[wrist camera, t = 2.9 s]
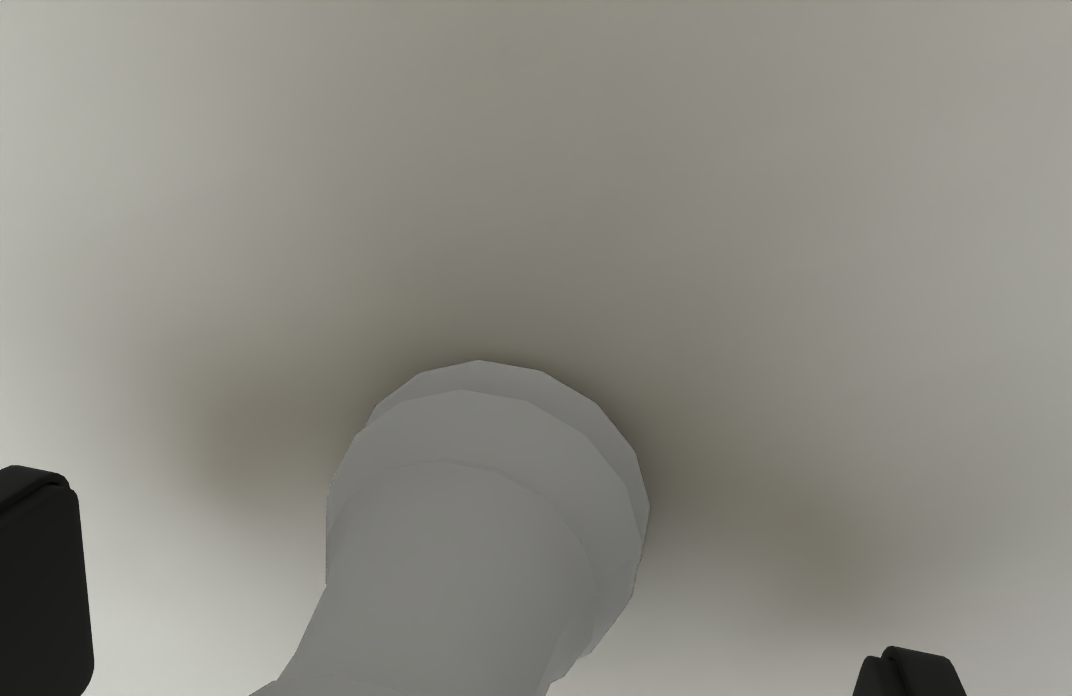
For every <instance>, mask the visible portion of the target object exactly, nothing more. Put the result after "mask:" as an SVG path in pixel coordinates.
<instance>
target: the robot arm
mask: <svg viewBox="0 0 1072 696" xmlns="http://www.w3.org/2000/svg"><path fill="white" fill-rule="evenodd" d="M93 670H94V654H93V644H92V633H91V623H90V613H89V603H88V593H87V583H86V572H85V562H84V552H83V542H82V532H81V521H80V511H79V501H78V497H77V494H76V493H75V492H74V490H72V489H70V486H69V482H68V481H67V480H66V478H65V477H64V476H62V475H60V474H58V473H54V472H49V471H44V470H39V469H34V468H29V467H25V466H20V465H11V466H9V467H6V468H3V469H1V470H0V696H81V695H82V693H83V692H84V691H85V689H86V688H87V686H88V684H89V682H90V680H91V677H92V674H93ZM852 696H967V695H966V693H965V691H964V689H963V686H962V684H961V682H960V680H959V677H958V675H957V673H956V671H955V669H954V666H953V665H952V663H951V662H950V660H949V659H947V658H946V657H943V656H939V655H934V654H929V653H924V652H919V651H914V650H910V649H905V648H900V647H895V646H889V647H887V648H886V649H885V650H884V652H883V654H882V656H881V658H879V657H874V656H867V657H866V658H865V660H864V662H863V664H862V667H861V670H860V673H859V676H858V679H857V683H856V686H855V689H854V692H853V695H852Z"/></svg>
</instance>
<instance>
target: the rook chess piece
mask: <svg viewBox="0 0 1072 696" xmlns="http://www.w3.org/2000/svg"><path fill="white" fill-rule="evenodd" d="M649 513H650V504H649V500H648V496H647V493H646V489H645V485H644V482H643V478H642V474H641V471H640V467H639V463H638V460H637V456H636V452H635V451H634V450H633V448H632V447H631V446H630V445H629V443H628V442H627V441H626V440H625V438H624V437H623V436H622V435H621V433H620V432H619V431H618V429H617V428H616V427H615V426H614V424H613V423H612V422H611V421H610V419H609V418H608V417H607V416H606V414H605V413H604V412H603V411H602V409H601V408H600V407H599V406H598V404H597V403H595V402H594V401H592V400H590V399H589V398H587V397H585V396H583V395H582V394H580V393H578V392H577V391H575V390H573V389H571V388H570V387H568V386H566V385H565V384H563V383H561V382H559V381H558V380H556V379H554V378H553V377H551V376H549V375H548V374H546V373H544V372H542V371H541V370H535V369H529V368H523V367H517V366H511V365H506V364H500V363H494V362H488V361H482V360H475V361H470V362H465V363H461V364H456V365H452V366H447V367H442V368H438V369H433V370H429V371H424V372H420V373H418V374H417V375H416V376H414V377H413V378H411V379H410V380H409V381H407V382H406V383H405V384H403V385H402V386H401V387H399V388H398V389H397V390H395V391H394V392H393V393H391V394H390V395H389V396H387V397H386V398H385V399H383V400H382V401H381V402H379V403H378V404H376V406H375V408H374V410H373V412H372V413H371V415H370V417H369V419H368V421H367V423H366V425H365V427H364V429H363V430H362V431H360V432H359V433H357V434H356V435H355V437H354V439H353V441H352V443H351V445H350V447H349V449H348V451H347V453H346V455H345V457H344V458H343V460H342V462H341V464H340V466H339V468H338V470H337V472H336V474H335V476H334V478H333V480H332V482H331V486H330V489H329V493H328V496H327V517H326V587H325V589H324V592H323V594H322V596H321V598H320V600H319V602H318V605H317V607H316V609H315V611H314V613H313V615H312V618H311V620H310V622H309V624H308V626H307V629H306V631H305V633H304V635H303V637H302V639H301V642H300V644H299V646H298V648H297V650H296V652H295V654H294V656H293V657H292V659H291V660H290V662H289V663H288V665H287V666H286V668H285V669H284V671H283V672H282V674H281V675H280V677H279V678H278V680H277V681H272V682H270V683H269V684H267V685H265V686H264V687H262V688H261V689H259V690H257V691H256V692H254V693H252V694H251V695H249V696H545V695H546V693H547V690H548V688H549V686H550V683H552V682H554V681H556V680H558V679H560V678H562V677H564V676H565V675H566V673H567V672H568V671H569V669H570V668H571V667H572V665H573V664H574V663H575V661H576V660H577V659H579V658H581V657H583V656H585V655H587V654H589V653H591V652H592V650H593V649H594V648H595V646H596V645H597V644H598V642H599V641H600V640H601V639H602V637H603V636H604V635H605V633H606V632H607V631H608V629H609V628H610V627H611V625H612V624H613V623H614V622H615V620H616V619H617V618H618V616H619V615H620V614H621V612H622V611H623V609H624V608H625V606H626V605H627V603H628V601H629V600H630V598H631V597H632V593H633V588H634V582H635V577H636V571H637V566H638V563H639V561H640V560H641V556H642V551H643V545H644V540H645V535H646V529H647V524H648V518H649Z"/></svg>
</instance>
